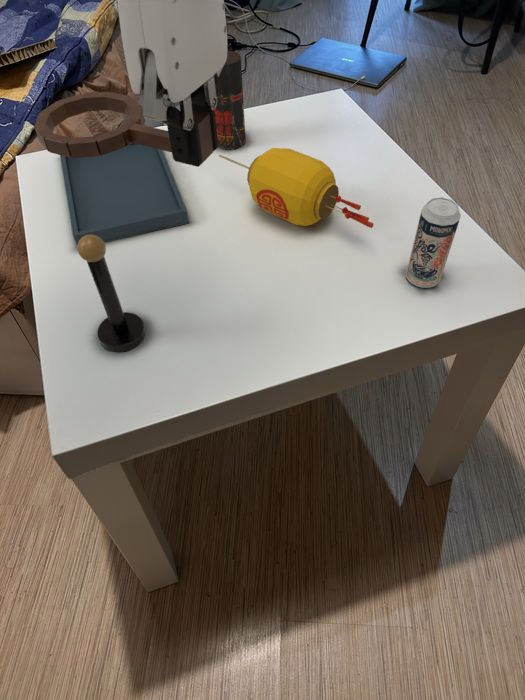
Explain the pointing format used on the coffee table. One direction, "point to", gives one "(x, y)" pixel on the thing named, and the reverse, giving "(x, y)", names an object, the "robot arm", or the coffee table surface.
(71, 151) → the brown ring with handle
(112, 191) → the tray
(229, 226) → the coffee table surface
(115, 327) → the black post with ball
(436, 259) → the beer can
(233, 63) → the deodorant
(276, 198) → the lantern
